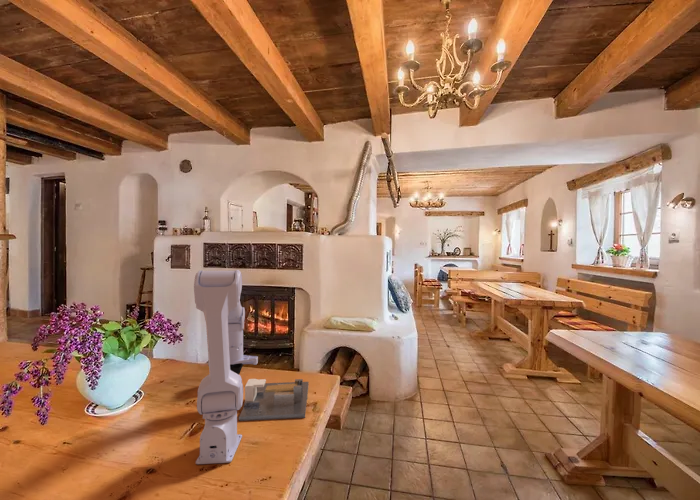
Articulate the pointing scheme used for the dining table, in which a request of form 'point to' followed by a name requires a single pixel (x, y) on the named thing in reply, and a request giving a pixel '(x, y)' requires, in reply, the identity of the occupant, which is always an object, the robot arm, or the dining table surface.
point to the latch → (253, 388)
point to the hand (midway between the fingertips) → (233, 387)
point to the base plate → (274, 409)
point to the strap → (281, 387)
